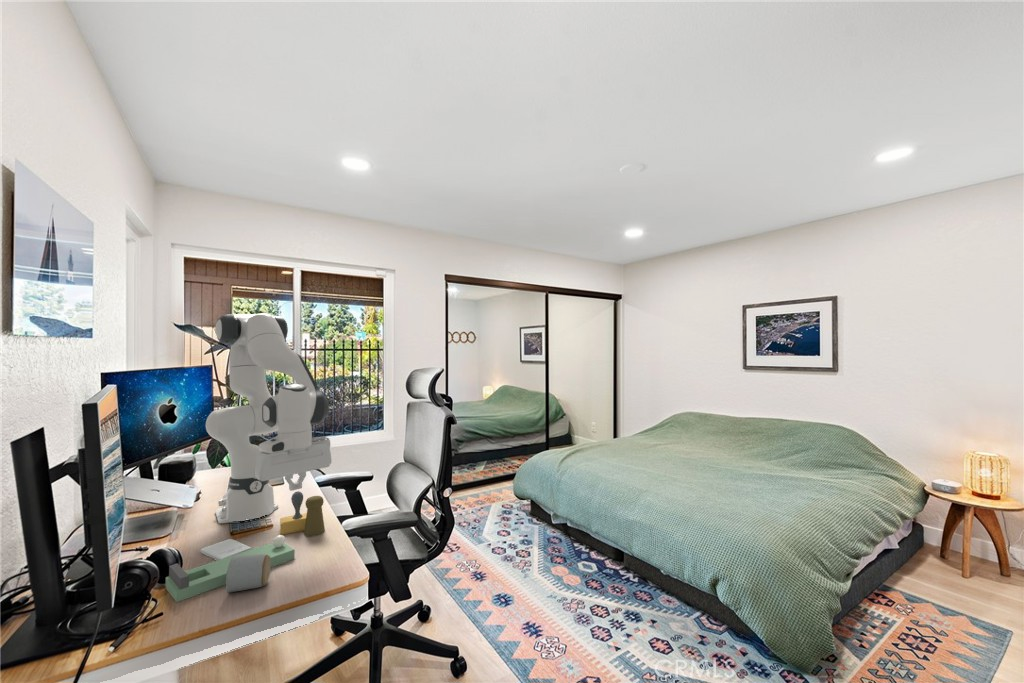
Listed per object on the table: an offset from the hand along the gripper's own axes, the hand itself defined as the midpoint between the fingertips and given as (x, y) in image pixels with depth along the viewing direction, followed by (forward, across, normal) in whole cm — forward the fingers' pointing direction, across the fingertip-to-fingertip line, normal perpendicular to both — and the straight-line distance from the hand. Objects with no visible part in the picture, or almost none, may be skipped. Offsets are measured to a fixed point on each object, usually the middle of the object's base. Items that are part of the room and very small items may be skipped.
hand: (295, 489), depth 122 cm
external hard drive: (+18, +12, -16) cm, 27 cm away
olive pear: (+17, -9, -9) cm, 22 cm away
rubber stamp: (+18, -8, -17) cm, 25 cm away
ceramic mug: (+18, +15, +10) cm, 25 cm away
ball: (+15, +4, 0) cm, 15 cm away
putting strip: (+17, +16, 0) cm, 23 cm away
